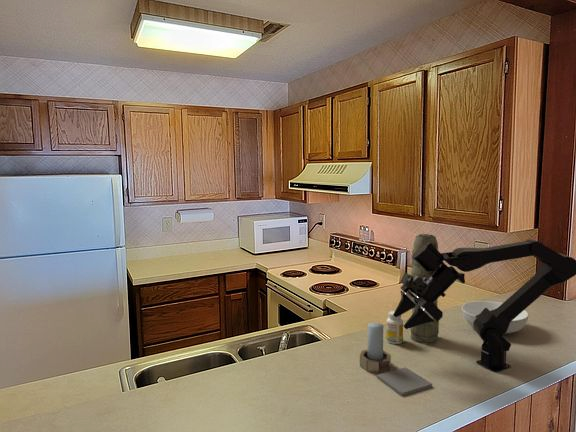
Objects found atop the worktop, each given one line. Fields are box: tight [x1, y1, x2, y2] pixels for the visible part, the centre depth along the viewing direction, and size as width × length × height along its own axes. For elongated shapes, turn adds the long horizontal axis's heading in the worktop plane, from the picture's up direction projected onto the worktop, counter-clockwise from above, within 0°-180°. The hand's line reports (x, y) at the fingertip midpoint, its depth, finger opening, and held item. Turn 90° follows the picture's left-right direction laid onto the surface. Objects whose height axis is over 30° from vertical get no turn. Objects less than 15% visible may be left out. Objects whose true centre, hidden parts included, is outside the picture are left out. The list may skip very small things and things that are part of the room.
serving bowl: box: [461, 300, 529, 334], centre depth 139 cm, size 21×21×7 cm
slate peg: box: [367, 322, 384, 361], centre depth 113 cm, size 4×4×12 cm
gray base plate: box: [376, 366, 433, 397], centre depth 104 cm, size 10×10×1 cm
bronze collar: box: [359, 349, 392, 374], centre depth 114 cm, size 8×8×3 cm
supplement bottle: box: [385, 310, 404, 345], centre depth 130 cm, size 5×5×10 cm
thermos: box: [409, 233, 440, 345], centre depth 130 cm, size 9×12×35 cm
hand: (399, 321), depth 113 cm, fingers open, 9 cm apart
